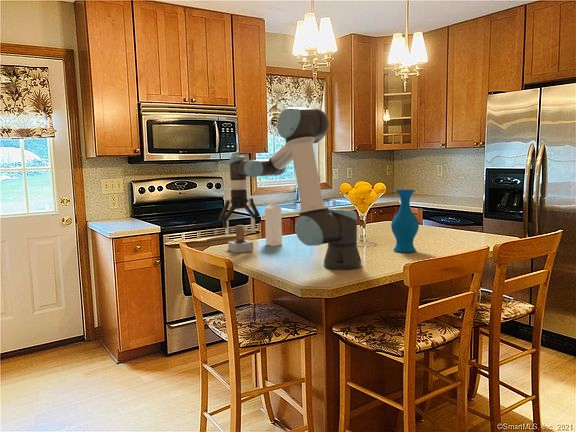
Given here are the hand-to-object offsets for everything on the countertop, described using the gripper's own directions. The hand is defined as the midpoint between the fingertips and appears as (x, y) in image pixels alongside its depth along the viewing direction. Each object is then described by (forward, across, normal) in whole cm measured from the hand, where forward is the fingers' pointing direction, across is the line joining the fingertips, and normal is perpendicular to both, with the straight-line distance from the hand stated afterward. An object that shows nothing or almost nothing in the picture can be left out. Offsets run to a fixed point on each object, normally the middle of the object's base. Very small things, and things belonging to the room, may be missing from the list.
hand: (240, 233), depth 225 cm
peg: (+8, 0, 0) cm, 8 cm away
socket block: (+8, 0, 0) cm, 8 cm away
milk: (+8, -20, -3) cm, 21 cm away
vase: (+9, -62, +46) cm, 77 cm away
